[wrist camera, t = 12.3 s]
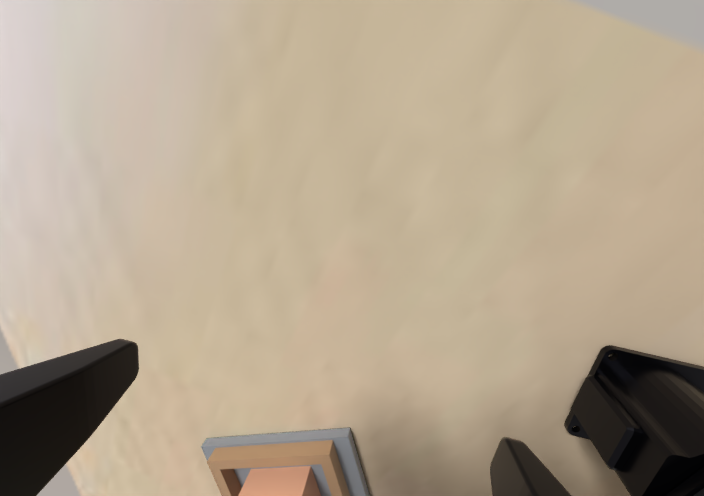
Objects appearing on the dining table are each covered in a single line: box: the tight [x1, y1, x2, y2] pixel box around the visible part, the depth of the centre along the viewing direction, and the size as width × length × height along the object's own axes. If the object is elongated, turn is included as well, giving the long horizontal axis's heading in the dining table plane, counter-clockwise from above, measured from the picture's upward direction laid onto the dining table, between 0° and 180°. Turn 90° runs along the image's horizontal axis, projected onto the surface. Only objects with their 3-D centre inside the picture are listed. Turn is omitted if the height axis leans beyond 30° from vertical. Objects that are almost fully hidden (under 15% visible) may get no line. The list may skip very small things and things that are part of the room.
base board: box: [201, 428, 370, 496], centre depth 26 cm, size 12×10×2 cm
